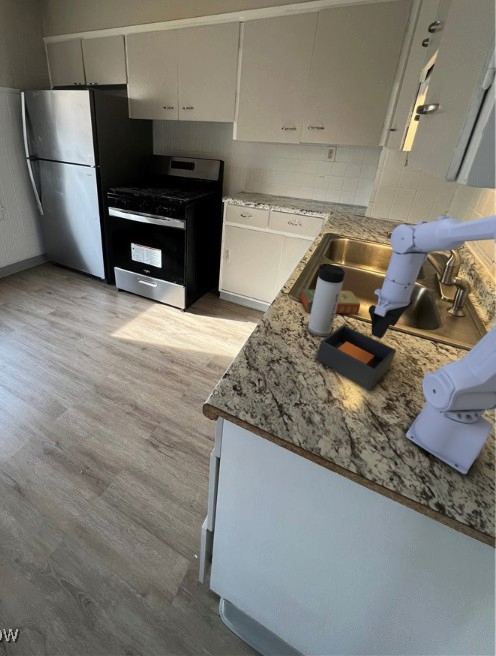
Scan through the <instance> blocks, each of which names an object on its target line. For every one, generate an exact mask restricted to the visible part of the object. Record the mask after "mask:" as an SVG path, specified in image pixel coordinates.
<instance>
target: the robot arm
mask: <svg viewBox="0 0 496 656" xmlns="http://www.w3.org/2000/svg"><path fill="white" fill-rule="evenodd" d="M490 240H494V244H495V245H496V214H494V215H490V216H489V215H488V216H485V217H480V218H476V219H471V220H467V221H462V220H460V219H458V218H454V217H451V215H440V216H437V217H436V220H433V221H426V220H421V221H418V222H417V224H415V225H413V224H411V225H408V224H403V223H402V224H401V223H400V225H398V226H396V227H395V228H394V229H393V230H392V232H391V234H390V247H391V249H392V253H391V257H390V259H389V260H390V261H389V263H388V266H387V269H386V274H385V277H384V279H383V283H382V286H381V288H376V289H375V290H374V295H377V296H378V298H377V304H376V305H374V304H372V305H370V306H368V307H369V308H368V314H369V317H370V322H371V329H370V330H371V336H373V337H374V338H377V339H379V340H381V339H382V338H383V337H384V336H385V334H386V333H387V330H388V329H389V328H390V327H395V326H396V325H397V323H398V322H399V320H400V319H401V317H402V316H403V314H404V313H405V311H406V310H407V309H408V308H409V307H411V306H412V305H413V304H414V300H413V299H411V297H412V293H413V290H414V287H415V285H416V282H417V279H418V276H419V274H420V270H421V267H422V266H423V263H424V262H425V261H427V259H428V258H429V255H430V254H431V253H433V252H435V253H437V252H448V251H455V250H458V249H460V248H461V247H462V246H463V245H464V244H465V243H466V242H476V241H490ZM421 387H422V388H421V389H422V392H423V396H424V398H425V402H424V404H423V407H422V409H421V411H420V413H419V414H418V415H417V417H415V419H414V421H413V423H412V424H411V426H410V427H409V429H408V431H407V432H406V434H405V437H406V438H407V439H408V440H410V441H411V442H412V443H414V444H416V445H418V446H419V447H421V448H422V449H424V451H426V452H428V453H429V454H431V455H433V456H435V457H436V458H438V459H439V460H441V461H442V462H444V463H445V464H447V465H449V466H450V467H452V468H453V469H454V470H456V471H458V472H460V474H462V475H467V474H468V472H469V470H470V468H471V466H472V465H473V463H474V462H475V460H478V458H479V456H480V454H481V452H482V449H483V447H484V445H485V443H486V442H487V440H488V437H489V436H490V433H491V431H492V429H493V423H492V422H490V421H489V420H487V419H486V418H485V417H483V416H484V414H485V412H486V411H493V410H496V324H495V325H493V327H492V328H490V330H489V331H488V332H487V333H486V334H485V335H484V336H483V337H482V338H481V339H480V340H479V341H478V342H477V343H476V344H475V345H474V346H472V348H471V349H470V350H469V351H468V352H467V353H466V354H465V355H464V356H463V357H462V358H461V359H458V360H456V361H453V362H450V363H447V364H444V365H442V366H440V367H439V368H438V369H437V370H435V371H429V372H427V373H426V374H425V375H424V376H423V379H422V385H421Z"/></svg>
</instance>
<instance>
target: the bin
mask: <svg viewBox="0 0 496 656" xmlns="http://www.w3.org/2000/svg"><path fill="white" fill-rule="evenodd" d="M346 341H347V342H349V343H351V344H353V345H354V346H356V347H358V348H360V349H362V350H364V351H366V352H368V353H370V354H372V355H374V359H373V362H372V365H371V366H368V365H366V364H364V363H363V362H361V361H359V360H357V359H355V358H353V357H352V356H350V355H348V354H346V353H344V352H342V351H341V350H339V349H338V348H339V347H340V346H342V345H343V344H344V343H345V342H346ZM396 352H397V349H396V348H393V347H391V346H389V345H387V344H385V343H383V342H381V341H378V340H377V339H374V338H372V337H370V336H368V335H367V334H364V333H362V332H360V331H358V330H355V329H353V328H351V327H349V326H347V325H346V324H342V325H341V326H339V327H338V328H337V329H335V330H334V331H332V332H331V333H330V334H329V335H328V336H325V338H323V339H322V340H320V342H319V347H318V351H317V356H316V360H317V361H319V362H320V363H322V364H324V365H325V366H327V367H329V368H330V369H332V370H334V371H335V372H337V373H339V374H340V375H342V376H344V377H345V378H347V379H348V380H351V381H352V382H354V383H355V384H357V385H359V386H360V387H362V388H364V389H366V390H367V391H369V392H370V391H371V390H372V389H373V388H374V387H375V385H376V384H377V383H379V381H380V380H381V379H382V377H384V375H385V374H386V373H387V372H388V371H389V370H390V368H391V367H392V363H393V360H394V358H395V356H396Z"/></svg>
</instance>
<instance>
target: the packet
mask: <svg viewBox="0 0 496 656" xmlns="http://www.w3.org/2000/svg"><path fill="white" fill-rule="evenodd" d="M338 349H339V350H341V351H342V352H344V353H346V354H348V355H350V356H352V357H353V358H355V359H357V360H359V361H361V362H363V363H364V364H366V365H368V366H371V365H372V362H373V359H374V355H372V354H370V353H368V352H366V351H364V350H362V349H360V348H358V347H356V346H354V345H353V344H351V343H349V342H347V341H346V342H345V343H344V344H343V345H342V346H340V347H339V348H338Z"/></svg>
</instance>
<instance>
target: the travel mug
mask: <svg viewBox="0 0 496 656" xmlns="http://www.w3.org/2000/svg"><path fill="white" fill-rule="evenodd" d="M318 269H319V271H318V276H317V279H316V286H315V289H314V290H315V295H314V300H313V305H312V310H311V312H310V316H309V320H308V325H307V329H308V331H309V332H310V333H312V334H313V335H315V336H318V337H327V336H329V335H330V334H331V333H332V329H333V325H334V321H335V317H336V314H337V313H336V309H337V305H338V301H339V297H340V292H341V290H342V289H343V284H344V278H345V274H346V272H345V270H344V269H343V268H342V267H340V266H338V265H336V264H333V263H326V262H325V263H319V265H318Z"/></svg>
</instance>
